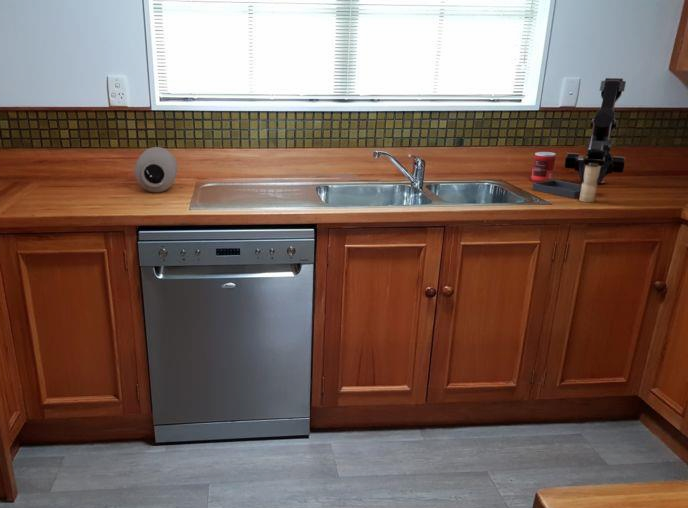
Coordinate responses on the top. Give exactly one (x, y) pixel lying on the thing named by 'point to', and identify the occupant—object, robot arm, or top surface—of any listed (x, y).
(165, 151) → the grey egg shaped device
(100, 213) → the top surface
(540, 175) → the canned food
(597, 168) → the pepper mill
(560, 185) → the tray
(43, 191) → the top surface
